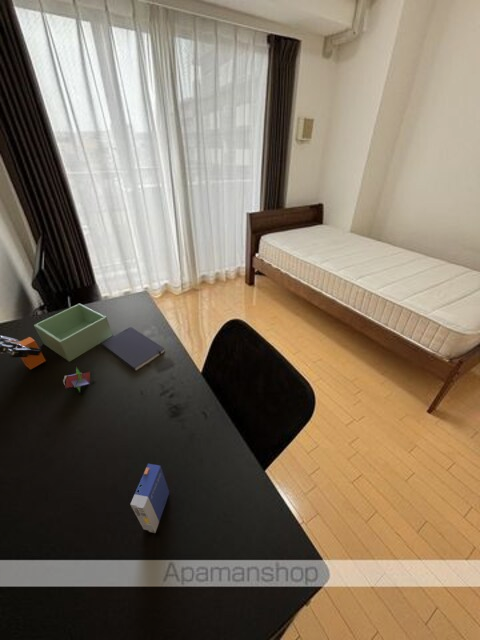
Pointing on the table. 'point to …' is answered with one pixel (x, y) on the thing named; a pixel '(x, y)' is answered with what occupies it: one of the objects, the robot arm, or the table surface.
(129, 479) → the table surface
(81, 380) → the geometric puzzle
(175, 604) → the table surface
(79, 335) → the bin
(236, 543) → the table surface
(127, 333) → the notebook
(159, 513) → the walkman
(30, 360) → the block
